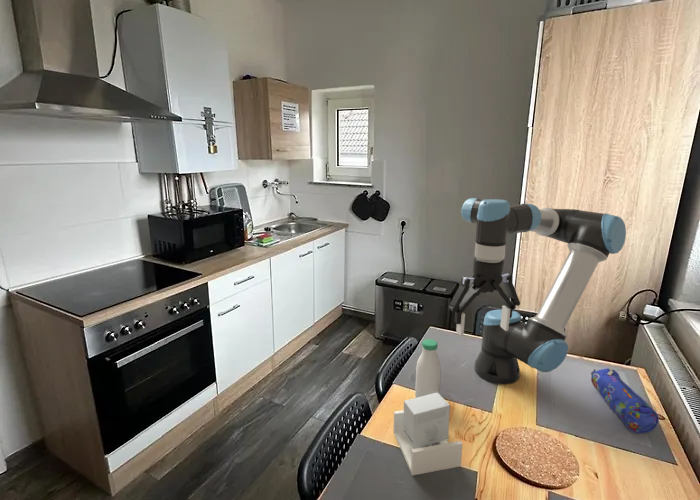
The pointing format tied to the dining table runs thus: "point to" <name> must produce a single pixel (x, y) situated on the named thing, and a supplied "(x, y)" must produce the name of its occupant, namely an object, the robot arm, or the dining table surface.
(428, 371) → the milk bottle
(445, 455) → the peg frame
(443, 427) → the skincare box
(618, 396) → the pencil case
